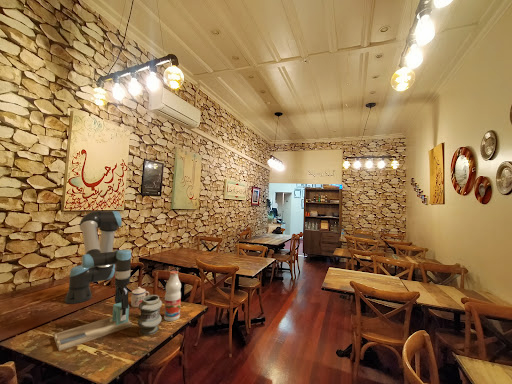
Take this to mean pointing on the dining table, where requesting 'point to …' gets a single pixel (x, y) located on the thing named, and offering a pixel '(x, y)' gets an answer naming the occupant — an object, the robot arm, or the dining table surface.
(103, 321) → the board
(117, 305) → the bracket
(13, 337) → the dining table surface
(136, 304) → the teacup with lid
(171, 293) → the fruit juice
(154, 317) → the apothecary jar
